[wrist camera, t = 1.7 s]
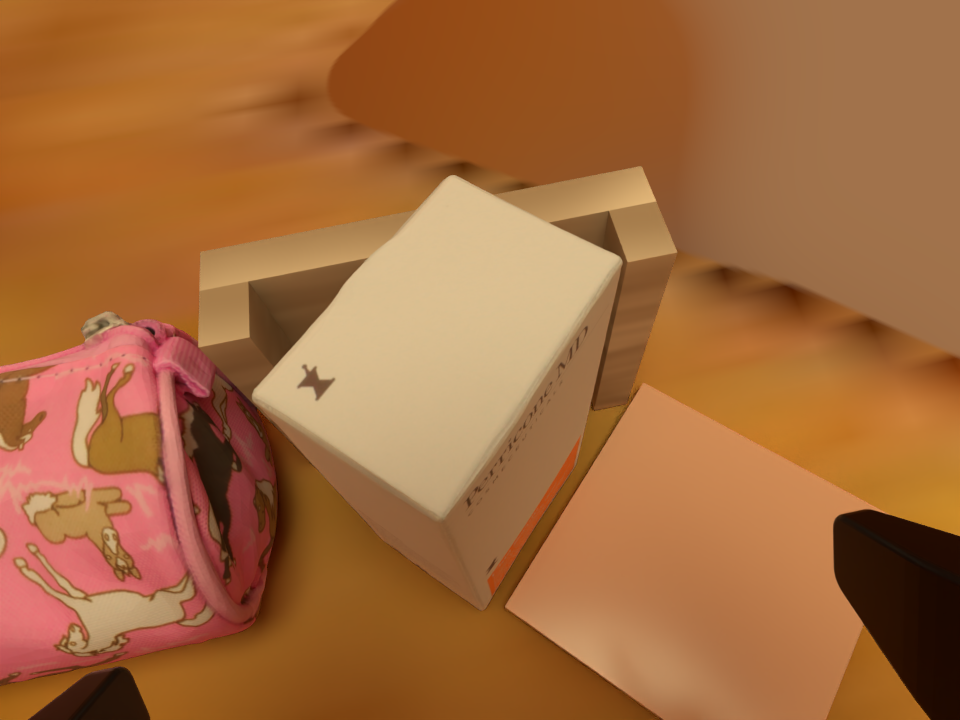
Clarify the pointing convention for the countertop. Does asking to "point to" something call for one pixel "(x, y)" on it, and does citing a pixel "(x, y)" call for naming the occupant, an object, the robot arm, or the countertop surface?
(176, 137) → the countertop surface
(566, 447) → the skincare box
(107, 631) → the pencil case
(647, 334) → the shallow wooden tray
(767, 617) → the tile
